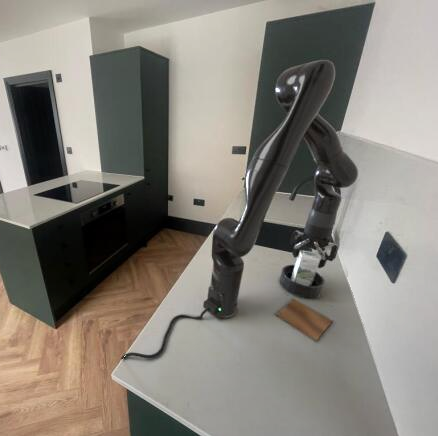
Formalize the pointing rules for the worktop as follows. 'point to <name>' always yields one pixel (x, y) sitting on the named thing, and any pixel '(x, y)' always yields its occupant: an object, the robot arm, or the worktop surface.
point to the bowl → (298, 288)
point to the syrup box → (305, 267)
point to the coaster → (304, 319)
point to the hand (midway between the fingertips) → (307, 261)
